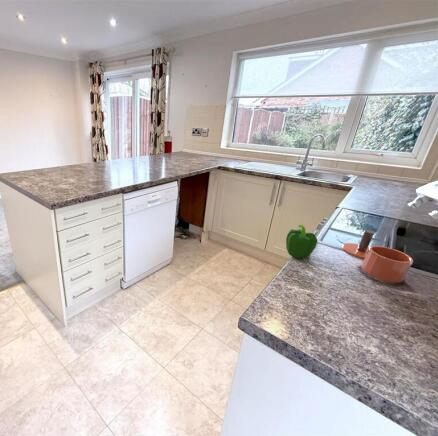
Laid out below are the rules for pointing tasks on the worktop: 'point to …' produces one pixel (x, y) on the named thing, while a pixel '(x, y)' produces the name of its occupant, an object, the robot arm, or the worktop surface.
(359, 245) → the lid
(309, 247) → the bell pepper
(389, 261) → the pot
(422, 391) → the worktop surface
